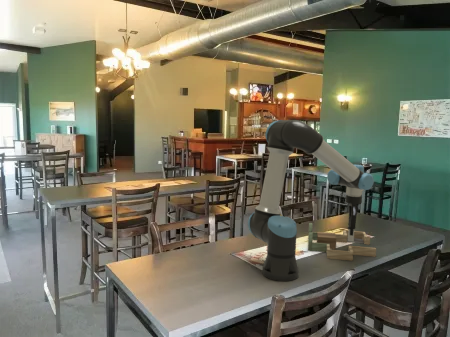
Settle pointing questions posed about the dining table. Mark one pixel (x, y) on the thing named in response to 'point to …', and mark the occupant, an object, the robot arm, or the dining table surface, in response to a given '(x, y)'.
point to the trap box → (352, 250)
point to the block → (327, 239)
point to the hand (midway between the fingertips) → (350, 240)
